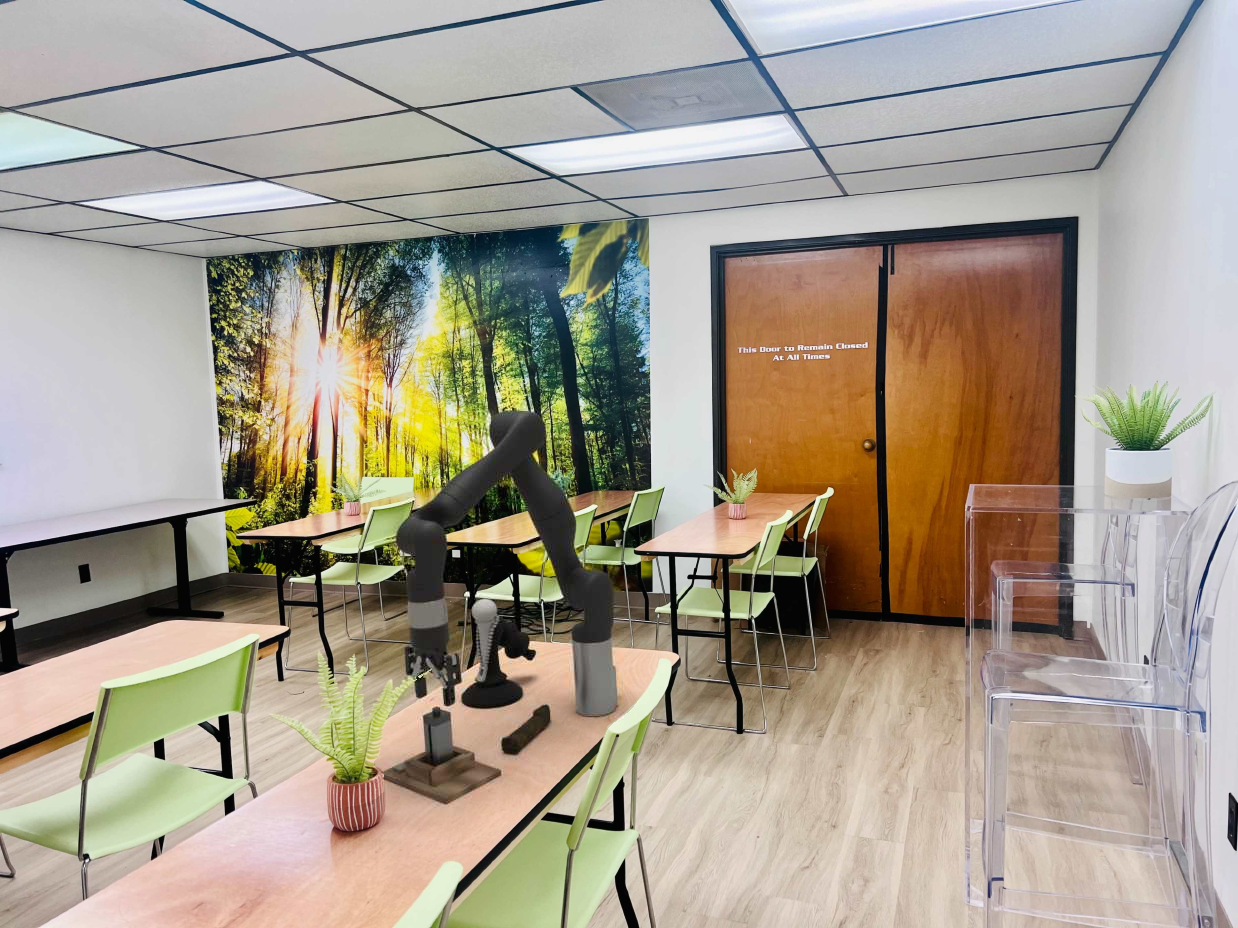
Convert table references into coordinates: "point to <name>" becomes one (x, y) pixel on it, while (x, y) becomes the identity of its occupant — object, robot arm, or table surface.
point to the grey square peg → (438, 737)
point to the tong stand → (442, 775)
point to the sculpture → (495, 659)
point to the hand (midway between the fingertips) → (435, 700)
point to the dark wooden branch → (527, 730)
